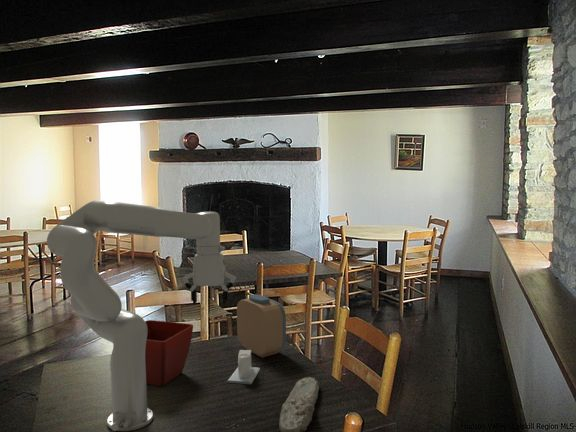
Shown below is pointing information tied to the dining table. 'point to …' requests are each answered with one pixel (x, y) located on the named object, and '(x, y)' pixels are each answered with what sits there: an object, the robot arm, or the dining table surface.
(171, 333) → the plant pot
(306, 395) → the long grey stone
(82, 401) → the dining table surface
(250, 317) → the alarm clock
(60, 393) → the dining table surface
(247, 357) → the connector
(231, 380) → the hard drive
